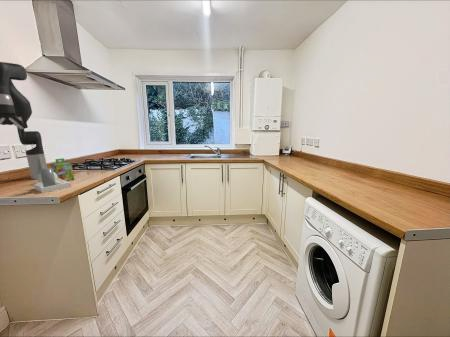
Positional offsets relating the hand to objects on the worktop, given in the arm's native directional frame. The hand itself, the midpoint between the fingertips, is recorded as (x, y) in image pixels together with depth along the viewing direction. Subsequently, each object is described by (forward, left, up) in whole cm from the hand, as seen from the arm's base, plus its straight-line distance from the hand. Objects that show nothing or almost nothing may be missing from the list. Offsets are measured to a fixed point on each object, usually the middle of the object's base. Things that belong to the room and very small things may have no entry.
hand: (10, 136), depth 100 cm
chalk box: (-13, +22, -30) cm, 40 cm away
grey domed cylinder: (+6, +10, -29) cm, 32 cm away
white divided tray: (+4, +11, -30) cm, 32 cm away
